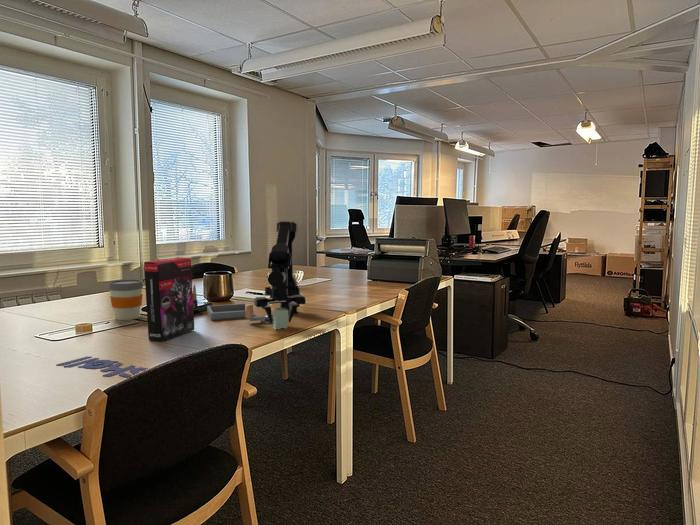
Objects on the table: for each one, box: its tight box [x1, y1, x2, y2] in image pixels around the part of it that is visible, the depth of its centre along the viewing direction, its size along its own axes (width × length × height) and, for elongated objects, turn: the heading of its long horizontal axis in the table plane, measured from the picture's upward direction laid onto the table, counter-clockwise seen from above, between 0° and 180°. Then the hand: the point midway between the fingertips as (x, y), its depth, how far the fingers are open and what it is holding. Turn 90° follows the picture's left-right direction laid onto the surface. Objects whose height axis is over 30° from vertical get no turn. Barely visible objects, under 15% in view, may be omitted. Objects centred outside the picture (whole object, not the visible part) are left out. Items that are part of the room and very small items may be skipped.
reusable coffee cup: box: [108, 278, 144, 321], centre depth 196 cm, size 13×13×15 cm
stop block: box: [272, 307, 289, 330], centre depth 183 cm, size 4×4×7 cm
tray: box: [206, 302, 248, 322], centre depth 203 cm, size 17×16×3 cm
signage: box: [56, 356, 149, 379], centre depth 135 cm, size 28×1×10 cm
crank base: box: [260, 320, 277, 331], centre depth 187 cm, size 7×16×1 cm, turn 22°
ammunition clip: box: [192, 283, 199, 308], centre depth 206 cm, size 11×2×12 cm, turn 143°
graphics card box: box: [143, 256, 195, 342], centre depth 169 cm, size 17×7×27 cm, turn 159°
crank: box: [244, 303, 274, 322], centre depth 190 cm, size 12×4×6 cm, turn 112°
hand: (280, 322), depth 183 cm, fingers open, 7 cm apart
